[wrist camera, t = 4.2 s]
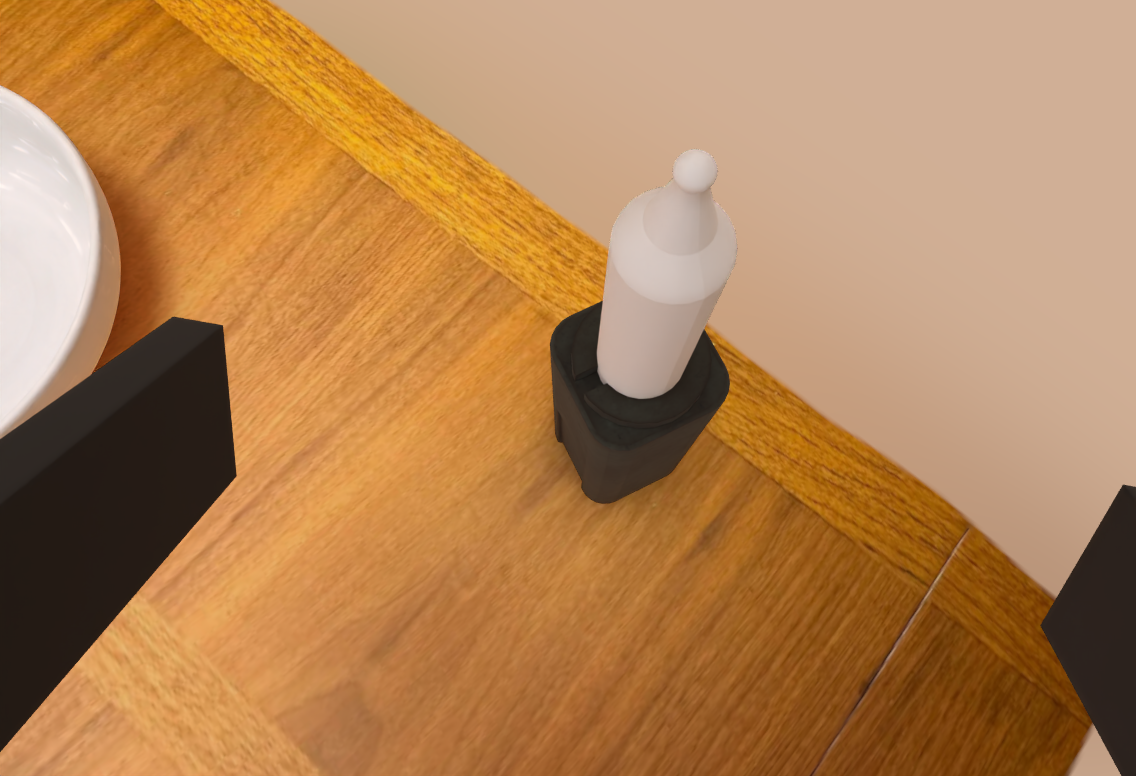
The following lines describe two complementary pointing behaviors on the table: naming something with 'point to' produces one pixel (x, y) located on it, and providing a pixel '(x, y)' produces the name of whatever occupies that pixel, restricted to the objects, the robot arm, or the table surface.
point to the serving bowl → (49, 263)
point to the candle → (647, 338)
